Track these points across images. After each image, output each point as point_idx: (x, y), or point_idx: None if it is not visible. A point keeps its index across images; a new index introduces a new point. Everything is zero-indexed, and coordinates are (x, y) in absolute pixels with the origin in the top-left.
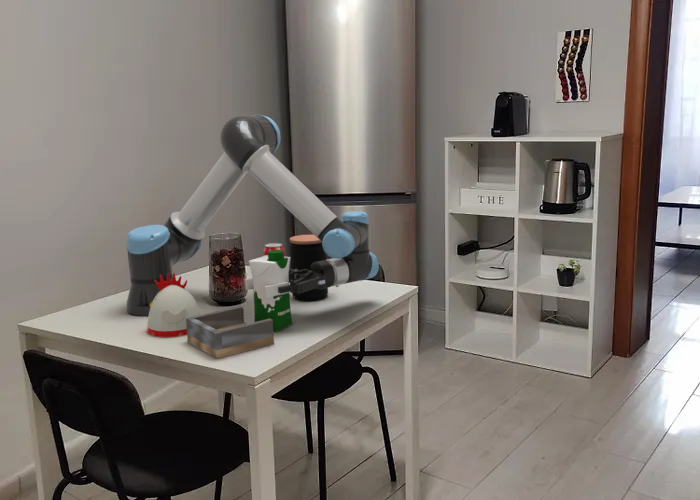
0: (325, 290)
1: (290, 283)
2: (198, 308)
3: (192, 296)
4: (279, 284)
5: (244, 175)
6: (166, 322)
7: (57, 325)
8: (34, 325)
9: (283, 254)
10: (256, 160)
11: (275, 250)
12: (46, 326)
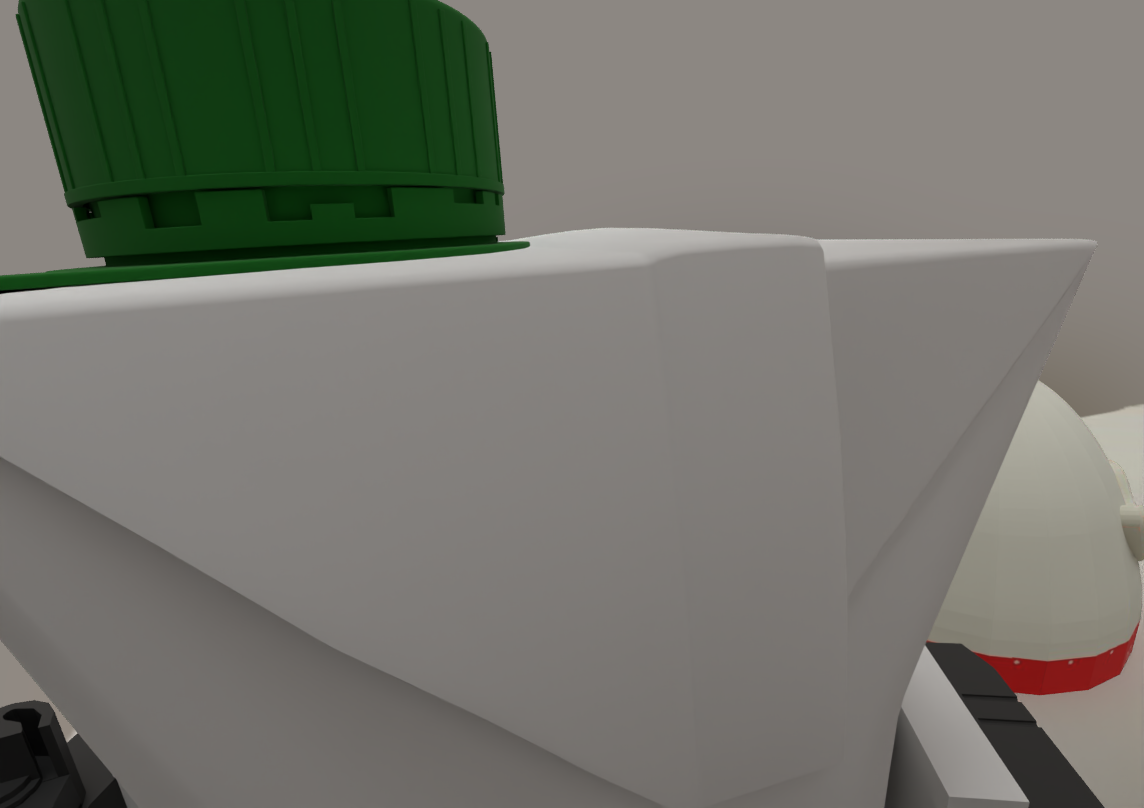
0: None
1: (44, 752)
2: (960, 566)
3: (997, 483)
4: None
5: None
6: None
7: (1128, 429)
8: (1140, 411)
9: (45, 120)
10: None
11: (399, 11)
12: (1119, 419)
